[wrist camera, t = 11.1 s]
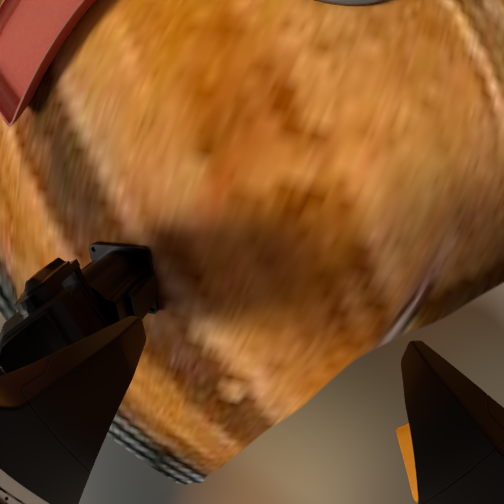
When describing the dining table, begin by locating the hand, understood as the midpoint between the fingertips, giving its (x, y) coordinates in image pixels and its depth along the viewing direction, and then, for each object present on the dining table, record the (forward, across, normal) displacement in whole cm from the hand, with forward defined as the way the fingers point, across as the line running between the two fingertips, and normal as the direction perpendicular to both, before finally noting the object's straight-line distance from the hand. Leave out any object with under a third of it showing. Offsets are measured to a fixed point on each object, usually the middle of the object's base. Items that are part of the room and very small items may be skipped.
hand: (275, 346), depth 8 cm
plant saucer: (+14, +26, -22) cm, 37 cm away
